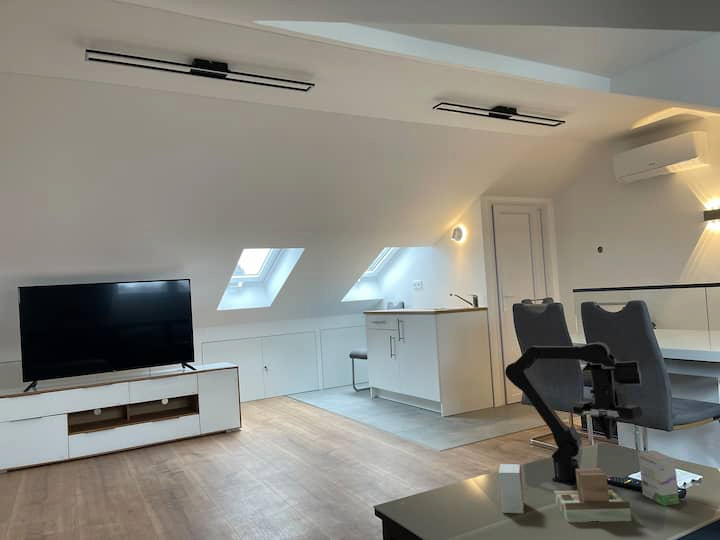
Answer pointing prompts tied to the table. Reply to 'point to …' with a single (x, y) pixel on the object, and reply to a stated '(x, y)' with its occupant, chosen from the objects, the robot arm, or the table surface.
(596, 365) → the robot arm
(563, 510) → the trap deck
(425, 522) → the table surface
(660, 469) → the ink box
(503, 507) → the small box
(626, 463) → the table surface
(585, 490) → the walnut block
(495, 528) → the table surface
